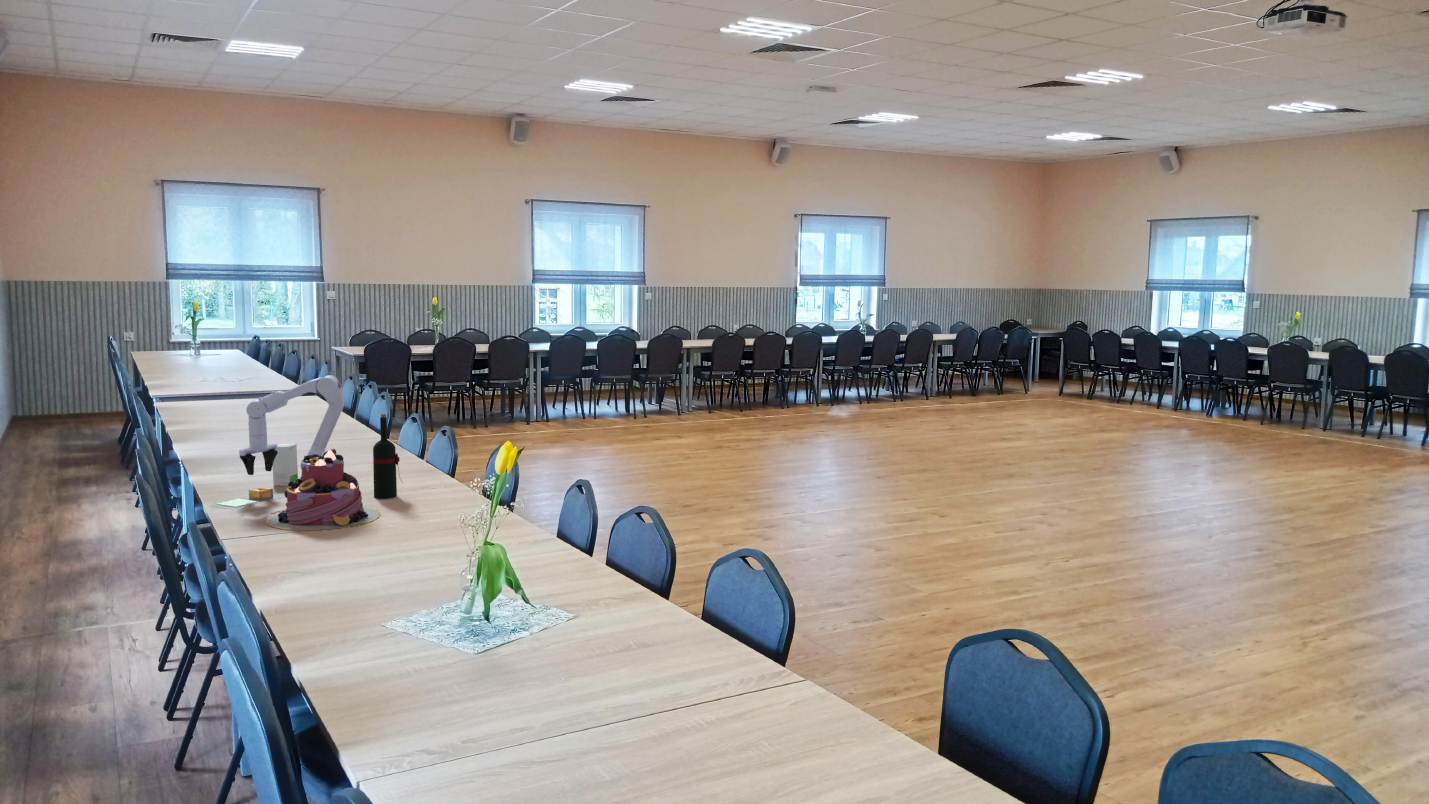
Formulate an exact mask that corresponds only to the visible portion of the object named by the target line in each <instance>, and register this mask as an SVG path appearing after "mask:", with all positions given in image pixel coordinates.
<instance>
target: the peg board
mask: <svg viewBox="0 0 1429 804" xmlns="http://www.w3.org/2000/svg"><path fill="white" fill-rule="evenodd" d="M282 498H286V497H285V494H280V493H273V497H272V498H268V499H264V500H257V499H250V498H249V495H247V496H242V497H239V498H233V499H230V500H226V501H221V502H217V503H213V504H207V507H212V508H213V507H214V508H219V509H220V508H221V509H226V510H237V509H241V508H246V507H250V506H254V505H259V504H261V503H266V502H271V501H275V500H278V499H282Z"/></svg>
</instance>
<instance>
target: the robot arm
mask: <svg viewBox="0 0 1429 804" xmlns="http://www.w3.org/2000/svg"><path fill="white" fill-rule="evenodd" d="M308 393H314V394H317V393H319V394H320V395H321V396H323V397H324V399H325V400H326V403H327V404H328V407H327V410H326V412H325V415H324V416H323V419H322V421H321V424H320V426H319V428H318V430H317V433H316V436H315V438H314V440H313V441H312V442H313V443H312V445H311V447H310V448H309V450H308V452H307V455H313V454H318V455H319V456H321V455H323V454H324V453H325V452H326V450H327V449H326V448H327V446H328V443H329V441H330V439H331V436H332V434H333V432H334V430H335V428H336V425H337V423H338V421H339V419H340V416H341V414H342V411H343V410H344V407H345V398H344V394H343V393H344V392H343V385H342V384H341V382H340V380H339V378H337V377H336V376H335V375H332V374H328V375H325V376H323V377H321V376H320V377H318V378H314V379H310V380H308V381H306V382H304V383H301V384H299V385H297V386H295V387H292V388H291V389H288V390H286V391H282V390H273V391H271V392H270V394H267V395H265V396H263V397H262V396H259V397H258V398H257V399H255V400H253V401H251V402H249V403H248V404H247V406H246V409H245V410H246V413H247V415H248V438H249V442H248V445H249V446H248V447H246V448H242V449H239V453H238V455H239V458H240V460H241V461H242V463H243V464H244V467H245V469H246V473H247V475H248V476H254V474H255V460H256V457H257V456H256V455H254V454H258V453H261V454H262V457H263V460H264V469H265V471H266V472H272V471H273V462H274V459H275V457H276V455H277V454H278V451H275V450H277V445H278V444H277V443H271V444H270V443H269V444H268V432H267V431H268V429H267V419H266V418H267V417H266V415H267V413H271V412H274V411H276V410H278V409H281V408H283V407H285V406H287V405H288V402H289V401H290V400H292V399H295V398H297V397H300V396H302V395H305V394H308ZM307 455H306V456H307ZM303 461H304V460H303V459H302V460H301V461H300V469H301V470H302V466H301V463H302V462H303ZM300 475H301V476H302V471H301V474H300Z"/></svg>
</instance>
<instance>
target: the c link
mask: <svg viewBox="0 0 1429 804" xmlns="http://www.w3.org/2000/svg"><path fill="white" fill-rule="evenodd" d="M273 494H274V489H273V488H268V487H261V486H260V487H258V488H257V489H248V496H249V498H250V499H257V500H264V499H268V498H272V497H273Z"/></svg>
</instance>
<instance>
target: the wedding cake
mask: <svg viewBox="0 0 1429 804" xmlns="http://www.w3.org/2000/svg"><path fill="white" fill-rule="evenodd" d="M302 460H304V461H303V462H302V463H301V462H300V464H301V466H302V469H301V472H302V473H301V474H302V475H301V476H300V478H298V479H297V480H296V481H295V482H293V481H291V482H289V483H288V486H287V488H286V491H284V494H283V495H285V497H284V498H286V501H287V502H286V503H285V507H286V509H284V510H282V511H281V512H278V513H275V514H273V515H271V516H269V517H267V519H266V522H265V523H266V524H267V526H269V527H270V528H274V529H276V530H283V531H292V532H293V531H294V532H321V531H322V532H323V530H326V531H334V530H335V529H336V530H343V528H344V529H349V528H348V527H350V528H355V527H359V525H360V526H363V525H367V524H369V522H370V523H372V522H375V521H376V520H378V519H379V518H380V516H381V512H380V511H379V510H378V509H375V508H373V507H369V506H368V507H367V506H364V505H363V501H362V499H363V497H362V496H363V495H362V491H361V490H360V483H359V481H358V480H357V478H356V477H355V476H353V475H352V474H349V473H347V472H346V471H344V468H345V461H344V456H343V455H342V454H338V453H337V451H336V449H335V448H330V449H329V450H327V451H326V450H325V452H324V454H323V455H321V456H319V455H318V454H313V455H304V456H303V458H302ZM301 466H300V467H301ZM374 520H375V521H374Z"/></svg>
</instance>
